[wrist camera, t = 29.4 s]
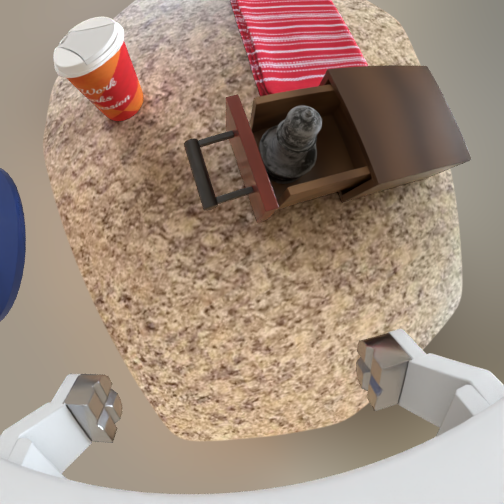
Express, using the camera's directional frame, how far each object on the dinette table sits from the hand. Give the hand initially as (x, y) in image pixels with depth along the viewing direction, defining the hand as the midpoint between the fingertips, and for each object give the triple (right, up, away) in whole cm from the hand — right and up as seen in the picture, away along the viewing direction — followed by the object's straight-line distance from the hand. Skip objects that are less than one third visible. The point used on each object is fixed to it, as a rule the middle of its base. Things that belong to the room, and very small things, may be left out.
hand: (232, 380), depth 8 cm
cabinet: (+16, +18, +26) cm, 35 cm away
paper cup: (-16, +23, +24) cm, 37 cm away
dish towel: (+7, +35, +26) cm, 44 cm away
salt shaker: (+4, +14, +23) cm, 27 cm away
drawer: (+3, +14, +24) cm, 28 cm away
